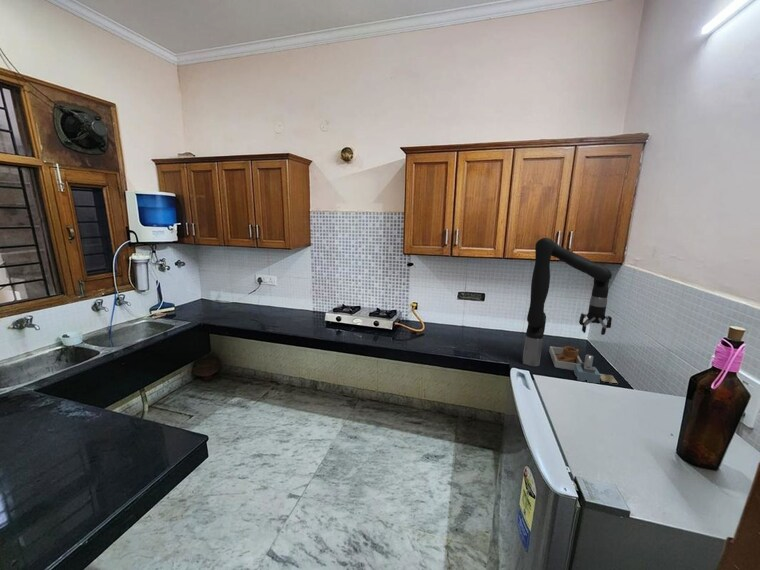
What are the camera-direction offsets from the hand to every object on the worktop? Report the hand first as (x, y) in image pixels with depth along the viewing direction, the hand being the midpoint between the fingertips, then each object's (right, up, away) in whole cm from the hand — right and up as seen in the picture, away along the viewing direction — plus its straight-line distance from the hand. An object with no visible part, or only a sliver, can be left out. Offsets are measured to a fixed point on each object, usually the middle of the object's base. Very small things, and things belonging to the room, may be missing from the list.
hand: (593, 333), depth 170 cm
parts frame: (-2, -21, +23) cm, 31 cm away
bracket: (-2, -21, +23) cm, 31 cm away
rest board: (+9, -25, +1) cm, 27 cm away
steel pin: (-2, -25, +3) cm, 25 cm away
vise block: (-2, -25, +3) cm, 25 cm away
